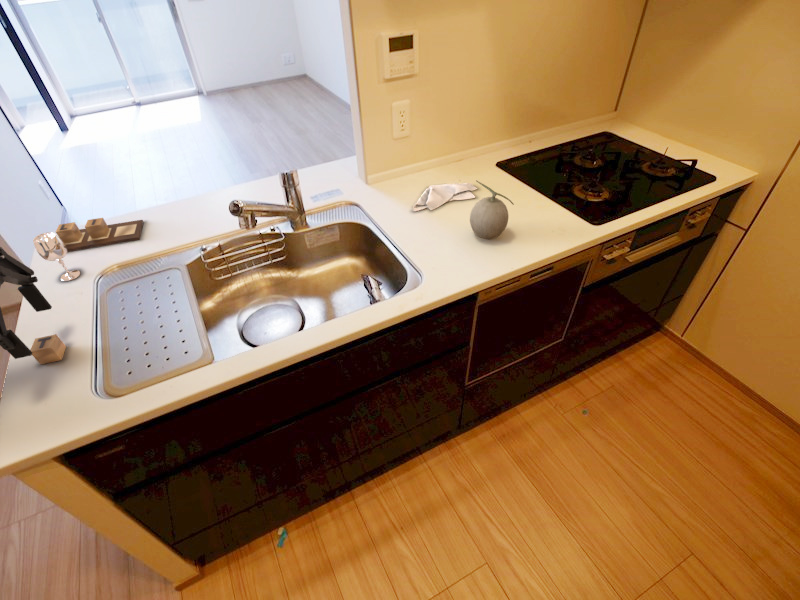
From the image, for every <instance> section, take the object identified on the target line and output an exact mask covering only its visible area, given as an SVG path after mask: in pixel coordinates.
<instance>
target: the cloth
mask: <svg viewBox="0 0 800 600" xmlns="http://www.w3.org/2000/svg"><path fill="white" fill-rule="evenodd" d="M475 190H478V188H477V187H476V186H475V185H473V183H472V182H462V183H459V182H458V183H457V182H455V183H454V182H453V183H442V184H430V185H429V187H427V188H426V189H425V190H424V191H423V193H422V194H421V196H420V197H419V198H418V200H417V201H416V202H415V203H414V205H413V206H412V211H413V212H418V211H422V210H425V209H428V210H429V211H433V210H435V209H437V208H440V207H441V206H443V205H444V204H445V203H448V202H452V201H453V202H454V201H465V200H471V199H475V198H476V196H475V195H474V194H473V191H475Z"/></svg>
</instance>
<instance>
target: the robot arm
mask: <svg viewBox="0 0 800 600" xmlns="http://www.w3.org/2000/svg"><path fill="white" fill-rule="evenodd" d="M34 275H35V271H34V270H33V269H32V268H30V267H29V266H27V265H25V264H24V263H23V262H21V261H19V260H17V259H16V258H14V257H13V256H12V255H10V254H8V253H7V252H6V251H5V250H4V248H3V247H2V246H0V288H1V286H2V285H3V284H4V283H8V284H12V285H16V286H18V287H17V291H19V293H20V294H21V295H22V296H23V298H24V299H25V300H26V301H27V303H29V304H30V306H31V307H32V308H33V310H35V312H37V313H39V312H43V311H48V310H51V309H52V308H53V306H52V304H50V303H49V301H48V300H47V298H46V297H45V296H44V295H43V294H42V292H41V291H40V290H39V288H38V287H37V286H36V285H35V283H37V282H38V281H39V280H38V278H37V276H34ZM0 347H1V348H2V349H3V350H4V351H7V352H8V353H9V355H11V356H12V358H14V360H16V359H22V358H26V357H31V356H32V352H31V350H30V349H31V348H29V347H28V346H27V345H26V343H24V342H23V340H21V339H20V337H19V336H18V335H16V333H15V332H14V331H13V330H12V329H7V326H6V323H5V318H4V316H3V312H2V308H1V307H0Z"/></svg>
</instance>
